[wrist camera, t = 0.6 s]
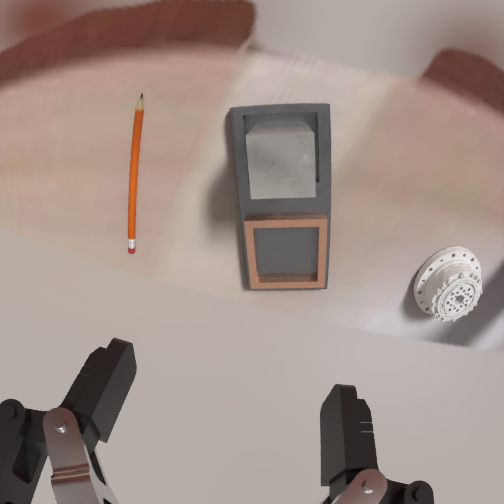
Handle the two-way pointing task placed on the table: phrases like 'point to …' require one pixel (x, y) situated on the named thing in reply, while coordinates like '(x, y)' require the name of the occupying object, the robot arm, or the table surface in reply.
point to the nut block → (281, 161)
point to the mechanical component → (449, 284)
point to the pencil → (134, 174)
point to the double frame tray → (285, 206)
